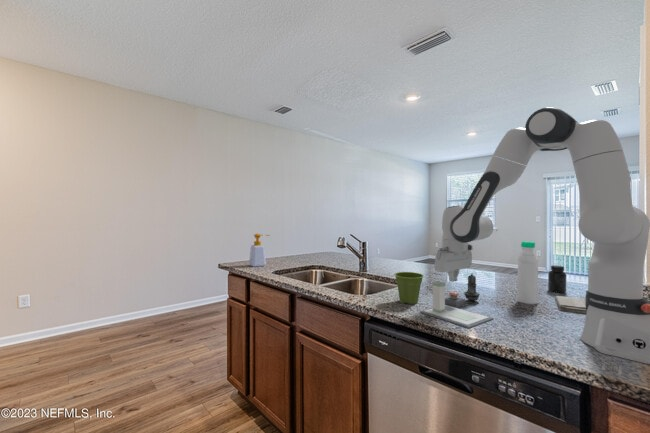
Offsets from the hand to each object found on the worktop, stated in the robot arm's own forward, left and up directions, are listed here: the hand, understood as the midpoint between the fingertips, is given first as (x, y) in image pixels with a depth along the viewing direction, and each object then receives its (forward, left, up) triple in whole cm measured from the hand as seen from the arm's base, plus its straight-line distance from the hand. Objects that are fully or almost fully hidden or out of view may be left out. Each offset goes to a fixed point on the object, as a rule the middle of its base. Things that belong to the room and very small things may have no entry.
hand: (453, 281), depth 122 cm
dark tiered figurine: (-2, -10, -10) cm, 14 cm away
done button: (0, 0, -8) cm, 8 cm away
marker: (-3, +14, -9) cm, 17 cm away
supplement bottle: (-15, -60, -10) cm, 62 cm away
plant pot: (+13, +11, -10) cm, 20 cm away
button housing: (0, 0, -10) cm, 10 cm away
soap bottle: (+130, +27, -10) cm, 133 cm away
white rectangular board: (-8, +11, -10) cm, 17 cm away
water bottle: (-15, -29, -10) cm, 34 cm away
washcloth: (-29, -38, -10) cm, 48 cm away
